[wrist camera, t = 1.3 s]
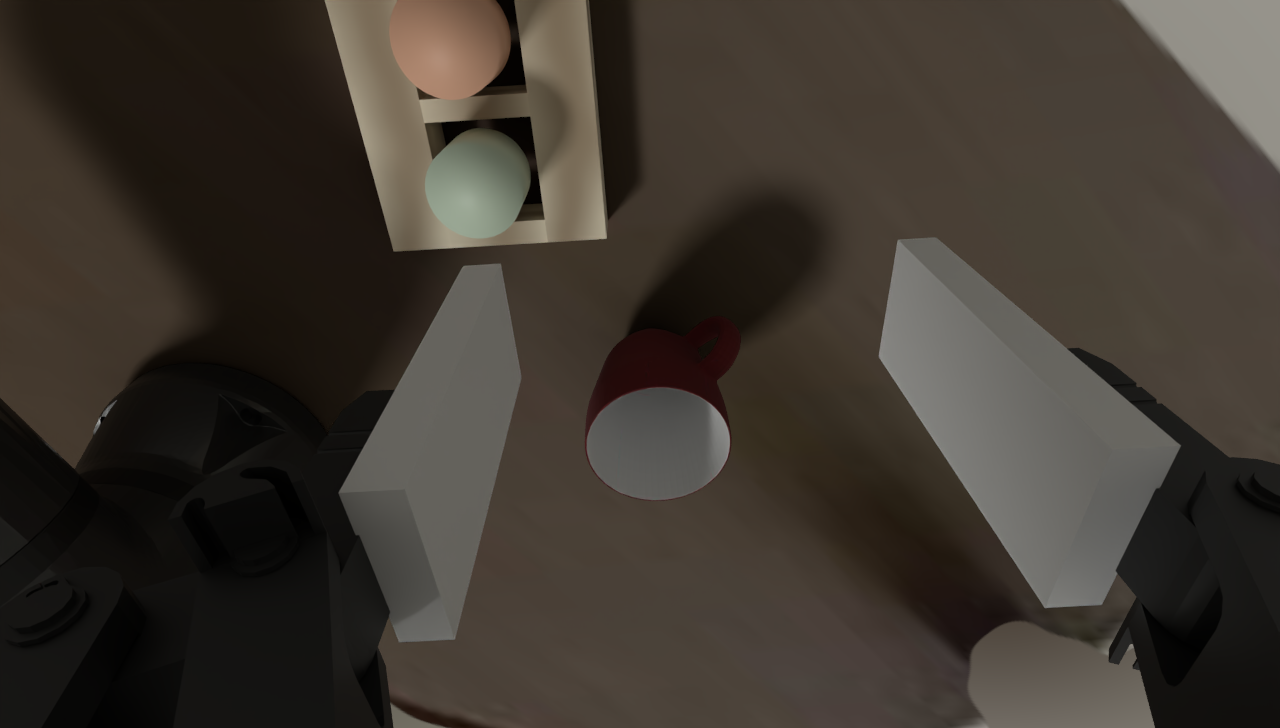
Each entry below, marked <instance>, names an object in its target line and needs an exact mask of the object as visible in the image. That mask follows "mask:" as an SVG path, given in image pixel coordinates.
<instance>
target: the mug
mask: <svg viewBox="0 0 1280 728" xmlns="http://www.w3.org/2000/svg"><path fill="white" fill-rule="evenodd" d="M718 336H719V337H718ZM716 337H718V340H717V342H716V344H715V346H714V348H713V349H712V351H711V352H710V353H709V354H708V355H707V356H706V357H705V358H704V359H703V360H702V358H701V356H700V354H699V352H698V348H699V347H700V346H702V345H703V344H705V343H707V342H708V341H710V340H712V339H714V338H716ZM740 343H741V336H740V333H739V330H738V328H737V327H736V326H735V324H734V323H733V322H732V321H730V320H729V319H727V318H725V317H722V316H715V317H710V318H708V319H706V320H704V321H702V322H701V323H700V324H698V325H697V326H696V327H695V328H693V329H692V330H691V331H690V332H689V333H688V334H686V335H685V336H684V337H683V336H680V335H677V334H675V333H672V332H669V331H666V330H662V329H656V328H649V329H643V330H640V331H638V332H635V333H633V334H631V335H629V336H627V337H626V338H624V339H623V340H622V341H620V342H619V343H618V344H617V345H616V346H615V347H614V348H613V349H612V351H611V352H610V354H609V355H608V357H607V359H606V361H605V363H604V365H603V368H602V370H601V373H600V375H599V378H598V380H597V383H596V386H595V388H594V391H593V393H592V396H591V399H590V402H589V406H588V410H587V417H586V428H585V451H586V456H587V460H588V462H589V465H590V467H591V468H592V470H593V472H594V473H595V474H596V476H597V477H598V478H599V479H600V480H601V481H602V482H603V483H604V484H606V485H607V486H608V487H610V488H611V489H613V490H614V491H616V492H618V493H620V494H623V495H625V496H628V497H631V498H635V499H640V500H648V501H664V500H672V499H677V498H681V497H684V496H687V495H690V494H692V493H694V492H696V491H698V490H700V489H702V488H703V487H705V486H706V485H708V484H709V483H710V482H711V481H713V480H714V479H715V478H716V477H717V476H718V474H719V473H720V472H721V471H722V469H723V468H724V466H725V464H726V462H727V460H728V458H729V455H730V451H731V431H730V425H729V420H728V416H727V411H726V407H725V404H724V401H723V398H722V395H721V392H720V390H719V388H718V385H717V380H718V379H719V378H720V377H722V376H723V375H724V374H725V373H726V372H727V371H728V370H729V368H730V367H731V366H732V364H733V363H734V361H735V359H736V357H737V355H738V352H739V349H740Z"/></svg>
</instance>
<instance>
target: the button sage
mask: <svg viewBox="0 0 1280 728" xmlns="http://www.w3.org/2000/svg"><path fill="white" fill-rule="evenodd" d="M530 182H531V172H530V167H529V163H528V160H527V158H526V156H525V154H524V152H523V151H522V149H521V148H520V147H519V145H518V144H517V143H516V142H515V141H514V140H512V139H511V138H510V137H508V136H507V135H505V134H503V133H501V132H499V131H497V130H493V129H488V128H475V129H471V130H467V131H465V132H463V133H461V134H459V135H458V136H457V137H456V138H454V139H453V140H452V141H451V142H450V143H449V144H448V145H447V146H446V147H445V148H444V149H443V150H442V151H441V152H440V153H439V154H438V155H437V156H436V157H435V158H434V159H433V161H432V162H431V164H430V166H429V168H428V170H427V174H426V178H425V192H426V197H427V200H428V203H429V205H430V208H431V209H432V211H433V213H434V214H435V216H436V217H437V218H438V219H439V220H440V221H441V222H442V223H443V224H444V225H445V226H446V227H447V228H449V229H450V230H452V231H454V232H455V233H457V234H460V235H462V236H465V237H470V238H489V237H493V236H496V235H498V234H500V233H502V232H504V231H505V230H506V229H508V228H509V227H510V226H511V225H512V224H513V222H514V221H515V220H516V218H517V216H518V214H519V212H520V209H521V207H522V205H523V202H524V200H525V198H526V196H527V193H528V191H529V188H530Z"/></svg>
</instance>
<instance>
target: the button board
mask: <svg viewBox="0 0 1280 728" xmlns="http://www.w3.org/2000/svg"><path fill="white" fill-rule="evenodd" d="M397 1H398V0H325V3H326V6H327V10H328V14H329V17H330V21H331V25H332V28H333V32H334V36H335V39H336V43H337V46H338V50H339V54H340V57H341V61H342V65H343V68H344V72H345V76H346V79H347V83H348V87H349V90H350V94H351V97H352V101H353V105H354V108H355V112H356V116H357V119H358V123H359V127H360V130H361V134H362V138H363V141H364V145H365V148H366V152H367V156H368V159H369V163H370V167H371V170H372V174H373V178H374V181H375V185H376V189H377V192H378V196H379V200H380V203H381V207H382V210H383V214H384V218H385V221H386V225H387V229H388V232H389V236H390V240H391V243H392V247H393V251H394V252H396V251H412V250H429V249H445V248H462V247H478V246H494V245H511V244H527V243H544V242H560V241H577V240H593V239H607V225H608V218H607V206H606V194H605V182H604V171H603V159H602V147H601V136H600V124H599V112H598V100H597V89H596V77H595V65H594V53H593V42H592V30H591V18H590V6H589V0H514V1H515V9H516V16H517V23H518V30H519V37H520V45H521V52H522V59H523V66H524V74H525V81H526V85H512V86H496V87H484V88H483V89H482V90H480V91H479V92H477V93H476V94H474V95H472V96H470V97H467V98H464V99H459V100H446V99H440V98H437V97H434V96H432V95H429V94H427V93H425V92H424V91H422V90H421V89H419V88H418V87H416V86H415V85H414V84H413V83H412V82H411V81H410V80H409V79H408V78H407V77H406V76H405V74H404V73H403V71H402V70H401V69H400V67H399V65H398V63H397V61H396V59H395V57H394V54H393V51H392V48H391V43H390V36H389V26H390V19H391V14H392V11H393V8H394V6H395V4H396V2H397ZM529 116H530V117H531V124H532V131H533V138H534V146H535V153H536V160H537V167H538V175H539V182H540V189H541V196H542V204H526V205H522V207H521V209H520V212H519V214H518V216H517V218H516V220H515V221H514V222H513V224H512V225H511V226H510V227H509V228H508V229H506V230H505V231H504V232H502V233H500V234H498V235H496V236H493V237H489V238H470V237H465V236H462V235H460V234H457V233H455V232H454V231H452V230H450V229H449V228H447V227H446V226H445V225H444V224H443V223H442V222H441V221H440V220H439V219H438V218H437V217H436V216H435V214H434V213H433V211H432V209H431V208H430V205H429V203H428V200H427V197H426V192H425V178H426V174H427V170H428V168H429V166H430V164H431V162H432V161H433V159H434V158H435V157H436V156H437V155H438V154H439V153H440V152H441V151H442V150H443V149H444V148H445V147H446V143H445V138H444V134H443V129H442V124H441V122H450V121H466V120H482V119H497V118H513V117H529Z"/></svg>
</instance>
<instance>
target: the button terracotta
mask: <svg viewBox="0 0 1280 728" xmlns="http://www.w3.org/2000/svg"><path fill="white" fill-rule="evenodd" d="M389 36H390V43H391V48H392V51H393V54H394V57H395V59H396V61H397V63H398V65H399V67H400V69H401V70H402V71H403V73H404V74H405V76H406V77H407V78H408V79H409V80H410V81H411V82H412V83H413V84H414V85H415V86H416V87H418V88H419V89H421V90H422V91H424V92H425V93H427V94H429V95H432V96H434V97H437V98H440V99H446V100H459V99H464V98H467V97H470V96H472V95H474V94H476V93H477V92H479V91H480V90H482V89H483V88H484V87H485V86H486V85H488V84H489V83H490V82H491V81H493V80H494V79H495V78H496V77H497V76H498V75H499V74H500V73H501V72H502V70H503V68H504V67H505V65H506V63H507V61H508V58H509V54H510V48H511V34H510V28H509V24H508V21H507V18H506V16H505V14H504V12H503V10H502V8H501V7H500V5H499V4H498V2H497V1H496V0H398V1H397V2H396V4H395V6H394V8H393V11H392V14H391V19H390V26H389Z"/></svg>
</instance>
